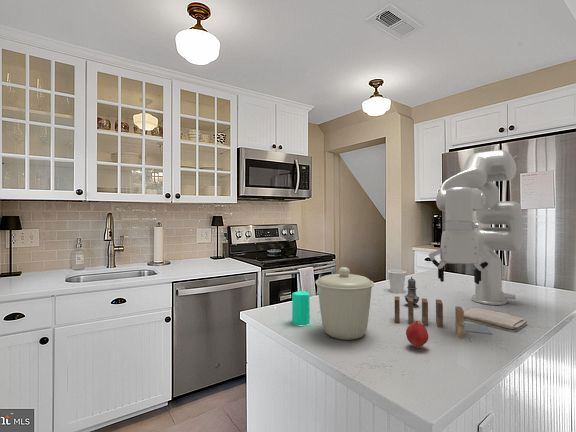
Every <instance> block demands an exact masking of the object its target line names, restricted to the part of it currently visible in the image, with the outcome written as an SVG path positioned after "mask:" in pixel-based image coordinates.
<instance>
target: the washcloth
mask: <svg viewBox="0 0 576 432" xmlns="http://www.w3.org/2000/svg"><path fill="white" fill-rule="evenodd" d="M464 321H467V322H469V323H470V322H471V323H473V324H482V325H486V326H487V327H491V328H495V329H499V330H503V331H507V332H510V333H515V332H518V331H520V330H521V329H523V328H524V327H526V326H527V325H528V321H527V320H524V318H523V317H517V316H514V315H510V314H509V313H507V312H499V311H495V310H491V309H485V308H484V309H483V308H479V307H472V308H470V309H469V310H467V311H466V310H465V311H464Z"/></svg>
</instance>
